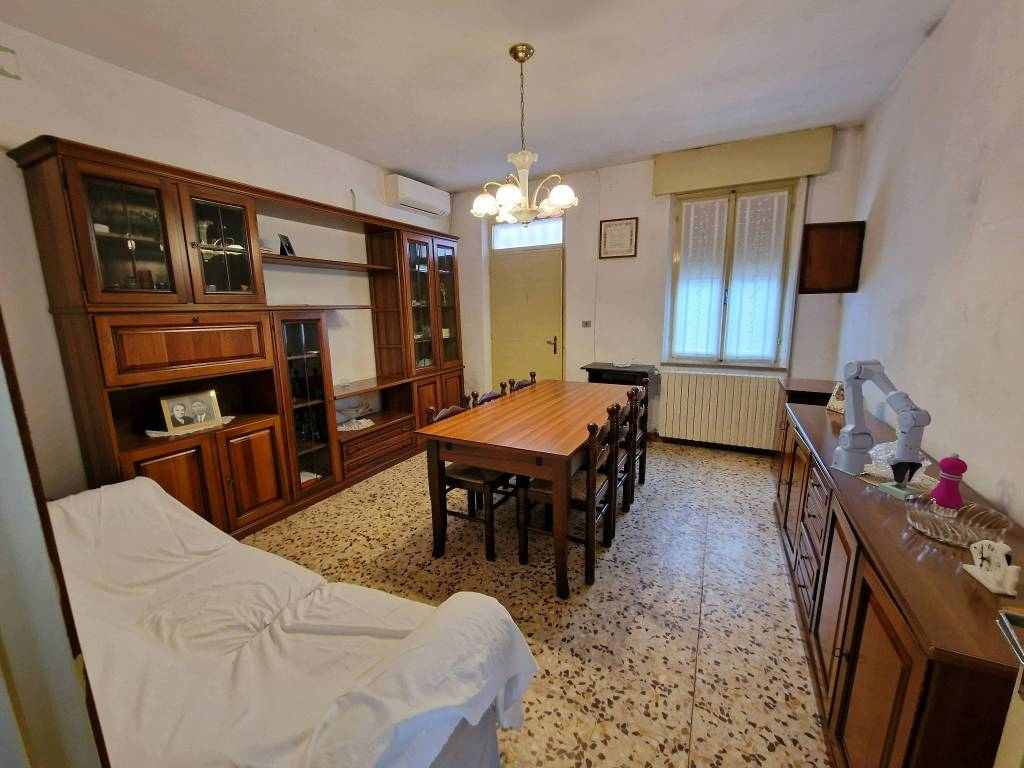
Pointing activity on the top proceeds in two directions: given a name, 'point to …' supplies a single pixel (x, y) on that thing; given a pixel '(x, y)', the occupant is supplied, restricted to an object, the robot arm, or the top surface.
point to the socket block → (898, 490)
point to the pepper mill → (949, 482)
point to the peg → (904, 484)
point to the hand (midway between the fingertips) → (901, 481)
